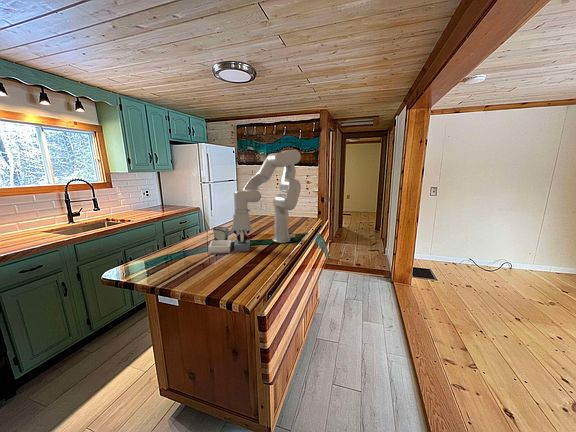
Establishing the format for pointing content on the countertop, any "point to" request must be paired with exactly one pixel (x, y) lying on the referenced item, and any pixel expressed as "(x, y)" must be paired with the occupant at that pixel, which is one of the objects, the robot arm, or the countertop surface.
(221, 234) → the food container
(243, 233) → the steel pin
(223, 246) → the parts tray
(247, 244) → the block
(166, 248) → the countertop surface
